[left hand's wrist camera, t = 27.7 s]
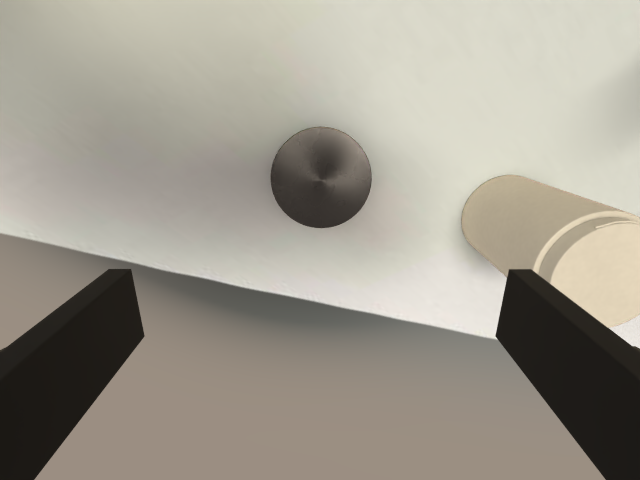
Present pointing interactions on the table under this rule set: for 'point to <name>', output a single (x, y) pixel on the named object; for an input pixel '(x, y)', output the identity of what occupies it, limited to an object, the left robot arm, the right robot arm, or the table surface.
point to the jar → (560, 243)
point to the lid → (321, 177)
